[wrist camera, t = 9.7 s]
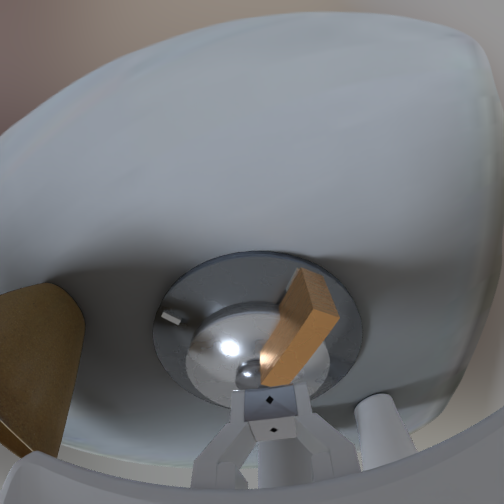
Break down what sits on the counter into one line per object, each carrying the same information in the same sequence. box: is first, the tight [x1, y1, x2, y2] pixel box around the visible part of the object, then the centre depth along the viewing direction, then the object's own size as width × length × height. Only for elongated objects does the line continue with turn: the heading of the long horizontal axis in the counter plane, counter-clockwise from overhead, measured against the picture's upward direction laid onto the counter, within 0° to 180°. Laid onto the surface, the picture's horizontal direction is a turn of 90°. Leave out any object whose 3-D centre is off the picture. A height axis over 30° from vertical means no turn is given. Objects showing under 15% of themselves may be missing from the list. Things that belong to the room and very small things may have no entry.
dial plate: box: [153, 251, 362, 409], centre depth 24 cm, size 19×19×2 cm
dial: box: [186, 267, 340, 408], centre depth 20 cm, size 16×12×5 cm
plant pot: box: [0, 283, 85, 458], centre depth 17 cm, size 15×15×16 cm
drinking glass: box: [354, 393, 418, 471], centre depth 22 cm, size 7×7×15 cm
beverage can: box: [258, 437, 313, 489], centre depth 25 cm, size 6×6×12 cm
